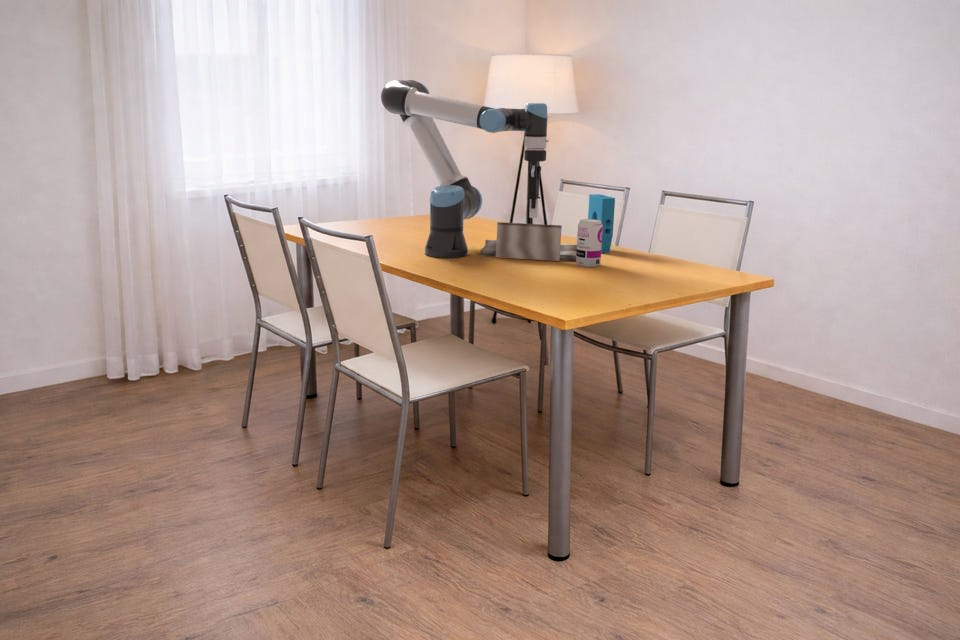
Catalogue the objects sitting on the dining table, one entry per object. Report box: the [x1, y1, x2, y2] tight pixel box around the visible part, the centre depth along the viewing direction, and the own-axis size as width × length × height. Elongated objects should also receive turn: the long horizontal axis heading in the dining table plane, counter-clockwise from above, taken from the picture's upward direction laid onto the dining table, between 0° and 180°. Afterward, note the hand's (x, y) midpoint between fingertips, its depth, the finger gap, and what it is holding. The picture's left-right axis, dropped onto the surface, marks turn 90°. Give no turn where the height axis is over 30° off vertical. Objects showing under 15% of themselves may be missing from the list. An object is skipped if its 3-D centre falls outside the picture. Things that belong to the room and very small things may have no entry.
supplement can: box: [575, 218, 603, 268], centre depth 289 cm, size 8×8×15 cm
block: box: [587, 193, 616, 254], centre depth 315 cm, size 12×5×20 cm, turn 20°
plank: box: [495, 221, 562, 262], centre depth 297 cm, size 22×12×2 cm
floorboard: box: [479, 239, 577, 263], centre depth 303 cm, size 36×11×4 cm, turn 79°
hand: (533, 217), depth 303 cm, fingers closed
